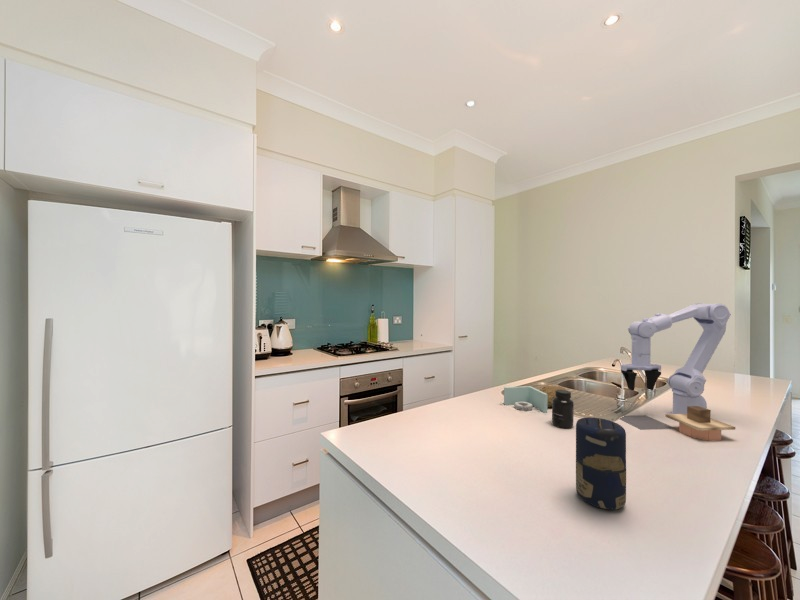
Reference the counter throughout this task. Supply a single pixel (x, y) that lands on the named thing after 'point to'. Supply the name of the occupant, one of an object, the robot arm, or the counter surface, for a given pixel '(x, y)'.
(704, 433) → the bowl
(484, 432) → the counter surface
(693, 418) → the lid
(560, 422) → the supplement bottle
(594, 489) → the canister
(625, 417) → the mat
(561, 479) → the counter surface
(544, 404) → the teal corner wall
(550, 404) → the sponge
